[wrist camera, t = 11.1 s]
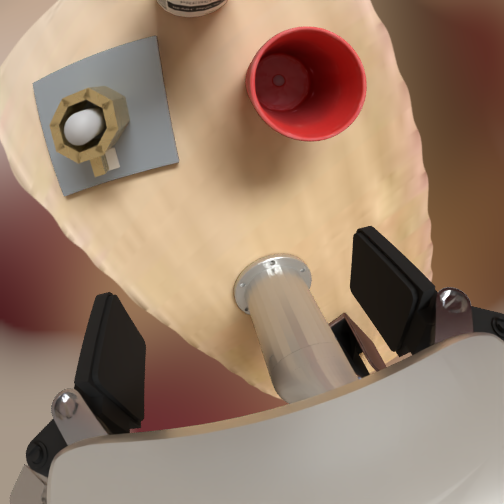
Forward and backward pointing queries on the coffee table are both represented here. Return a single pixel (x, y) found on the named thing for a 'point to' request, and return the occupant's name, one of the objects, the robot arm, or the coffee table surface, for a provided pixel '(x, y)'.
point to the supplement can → (191, 7)
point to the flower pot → (307, 83)
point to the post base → (141, 108)
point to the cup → (94, 148)
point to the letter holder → (356, 345)
